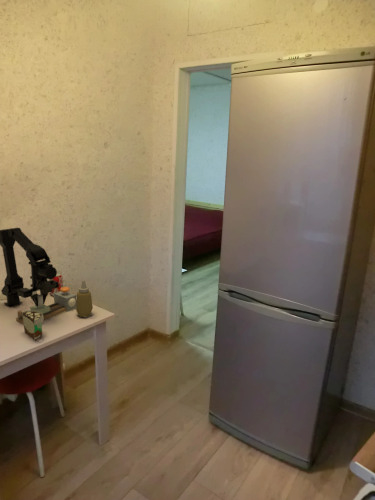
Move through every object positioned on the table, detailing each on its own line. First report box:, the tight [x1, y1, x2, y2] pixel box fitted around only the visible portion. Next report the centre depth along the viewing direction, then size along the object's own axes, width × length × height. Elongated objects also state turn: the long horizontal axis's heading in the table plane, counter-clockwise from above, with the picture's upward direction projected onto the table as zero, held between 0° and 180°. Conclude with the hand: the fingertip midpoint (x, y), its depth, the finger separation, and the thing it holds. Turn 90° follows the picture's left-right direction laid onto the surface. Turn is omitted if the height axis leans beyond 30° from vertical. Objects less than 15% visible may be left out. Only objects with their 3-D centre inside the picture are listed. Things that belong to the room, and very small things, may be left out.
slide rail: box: [15, 302, 67, 326], centre depth 169 cm, size 9×22×4 cm, turn 147°
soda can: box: [48, 272, 64, 297], centre depth 194 cm, size 7×7×12 cm
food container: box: [22, 309, 45, 342], centre depth 151 cm, size 12×6×10 cm, turn 48°
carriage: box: [29, 294, 50, 314], centre depth 167 cm, size 7×6×8 cm
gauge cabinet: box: [53, 291, 77, 312], centre depth 180 cm, size 10×6×7 cm, turn 57°
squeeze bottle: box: [75, 280, 94, 318], centre depth 170 cm, size 8×8×18 cm
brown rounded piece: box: [60, 286, 70, 295], centre depth 179 cm, size 4×4×4 cm
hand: (40, 305), depth 167 cm, fingers closed on carriage, 3 cm apart
